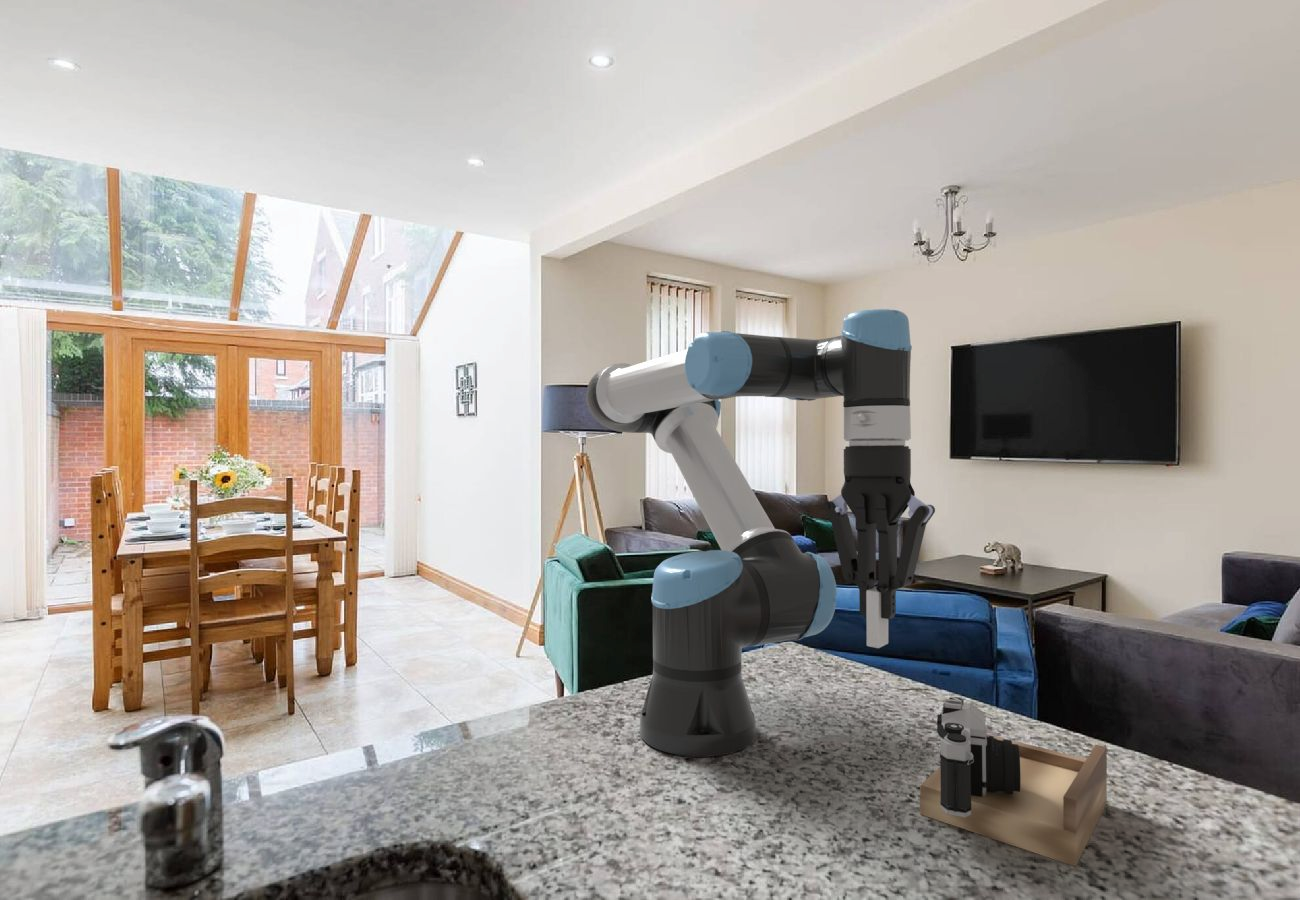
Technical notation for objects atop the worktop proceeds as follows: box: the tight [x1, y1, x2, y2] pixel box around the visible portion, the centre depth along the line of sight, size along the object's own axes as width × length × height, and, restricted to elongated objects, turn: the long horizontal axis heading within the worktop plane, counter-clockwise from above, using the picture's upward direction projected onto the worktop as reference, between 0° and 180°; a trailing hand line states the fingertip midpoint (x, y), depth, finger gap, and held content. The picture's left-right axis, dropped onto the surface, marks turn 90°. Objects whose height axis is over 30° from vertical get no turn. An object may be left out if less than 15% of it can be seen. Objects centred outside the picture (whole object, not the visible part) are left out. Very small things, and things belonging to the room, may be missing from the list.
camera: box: [936, 696, 1021, 817], centre depth 73 cm, size 13×8×9 cm, turn 159°
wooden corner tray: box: [919, 733, 1108, 867], centre depth 75 cm, size 14×15×6 cm
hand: (877, 644), depth 85 cm, fingers closed
